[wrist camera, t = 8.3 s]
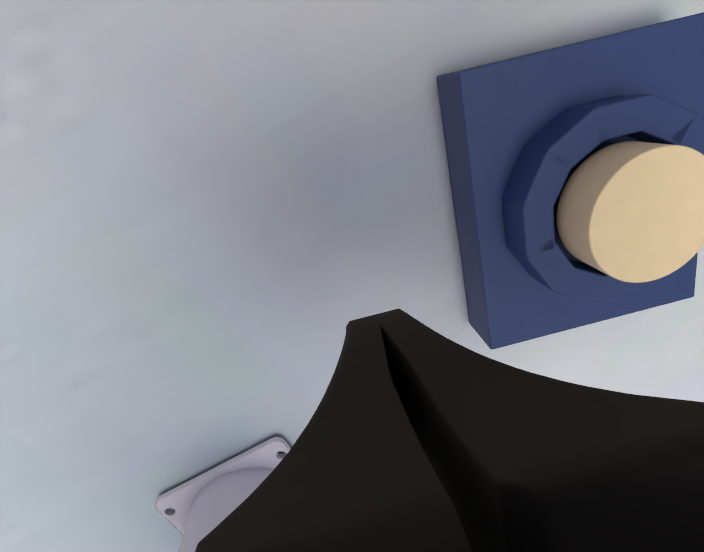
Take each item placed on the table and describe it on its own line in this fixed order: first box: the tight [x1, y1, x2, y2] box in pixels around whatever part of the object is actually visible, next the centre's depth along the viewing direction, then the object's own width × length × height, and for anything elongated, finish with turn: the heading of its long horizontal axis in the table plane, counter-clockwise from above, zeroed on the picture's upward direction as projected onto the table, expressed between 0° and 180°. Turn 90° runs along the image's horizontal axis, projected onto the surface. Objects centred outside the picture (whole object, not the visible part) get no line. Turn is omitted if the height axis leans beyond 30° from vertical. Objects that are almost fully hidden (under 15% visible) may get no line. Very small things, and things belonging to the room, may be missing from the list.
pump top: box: [557, 141, 704, 283], centre depth 16 cm, size 5×5×2 cm
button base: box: [437, 12, 704, 349], centre depth 19 cm, size 12×10×4 cm
